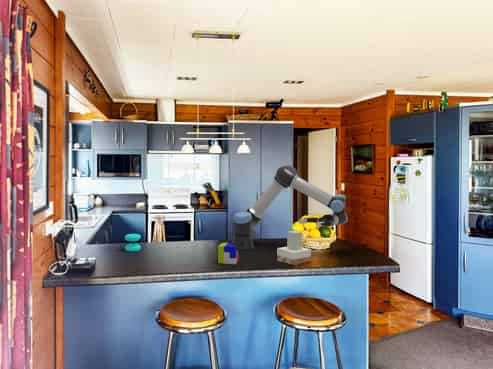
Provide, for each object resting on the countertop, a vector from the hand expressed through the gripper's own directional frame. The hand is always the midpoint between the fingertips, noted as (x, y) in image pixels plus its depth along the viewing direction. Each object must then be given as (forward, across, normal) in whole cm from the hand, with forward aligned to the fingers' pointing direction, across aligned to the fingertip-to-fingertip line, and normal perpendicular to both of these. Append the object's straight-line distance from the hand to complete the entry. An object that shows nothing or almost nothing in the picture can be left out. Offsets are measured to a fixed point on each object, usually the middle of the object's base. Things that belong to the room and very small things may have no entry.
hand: (308, 223), depth 248 cm
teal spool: (+70, +86, -24) cm, 114 cm away
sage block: (+12, 0, -14) cm, 18 cm away
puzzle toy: (+41, +24, -22) cm, 53 cm away
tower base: (+11, 0, -22) cm, 25 cm away
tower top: (+12, 0, -18) cm, 21 cm away
